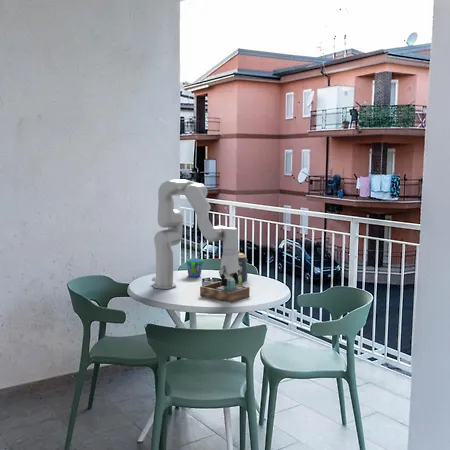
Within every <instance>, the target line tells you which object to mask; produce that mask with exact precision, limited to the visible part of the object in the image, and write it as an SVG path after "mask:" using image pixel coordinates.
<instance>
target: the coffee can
mask: <svg viewBox="0 0 450 450" xmlns="http://www.w3.org/2000/svg"><path fill="white" fill-rule="evenodd" d="M238 265H240V266H241V267H240V272H239V275H238V283H235V284H236V285H241V286H243V285H242V284H243V283H242V282H243V281H242V262H238ZM233 275H234V274H229V275H227V278H229V277H230V278H233ZM224 276H225V274H224Z"/></svg>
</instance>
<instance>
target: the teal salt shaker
mask: <svg viewBox="0 0 450 450" xmlns="http://www.w3.org/2000/svg"><path fill="white" fill-rule="evenodd" d="M226 279H227V286H226V287H225V286H224V289H229V290H232V289H235V280H234V278H230V277H229V278H226Z"/></svg>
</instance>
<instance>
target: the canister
mask: <svg viewBox="0 0 450 450" xmlns="http://www.w3.org/2000/svg"><path fill="white" fill-rule="evenodd" d="M248 261H249V260H248V259H247V255H246V254H245V253H243V252H240V250H238V262H242V282H245V281H247V280H248V277H249V276H248V267H249V266H248Z"/></svg>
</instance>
